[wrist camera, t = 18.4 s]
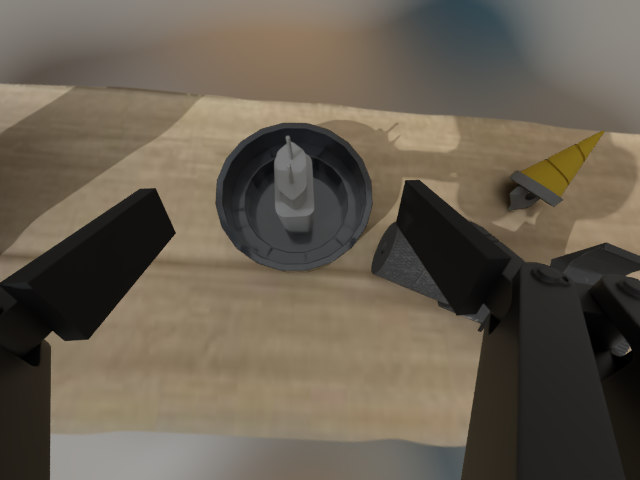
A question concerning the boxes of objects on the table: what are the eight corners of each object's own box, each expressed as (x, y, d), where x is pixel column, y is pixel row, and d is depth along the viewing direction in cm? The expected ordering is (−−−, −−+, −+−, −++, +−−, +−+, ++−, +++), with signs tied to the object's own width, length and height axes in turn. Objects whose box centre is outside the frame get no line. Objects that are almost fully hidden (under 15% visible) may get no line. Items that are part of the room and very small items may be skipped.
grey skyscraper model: (311, 187, 26) (311, 110, 14) (313, 233, 25) (316, 192, 13) (283, 188, 26) (261, 111, 14) (285, 234, 25) (262, 194, 13)
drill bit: (479, 191, 28) (566, 109, 22) (502, 205, 30) (586, 133, 25) (513, 217, 24) (627, 126, 18) (536, 231, 26) (644, 153, 21)
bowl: (216, 250, 25) (190, 242, 19) (260, 139, 27) (248, 104, 22) (339, 288, 25) (348, 291, 19) (372, 173, 27) (388, 147, 22)
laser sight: (388, 213, 26) (436, 174, 16) (571, 288, 26) (733, 293, 16) (359, 292, 25) (393, 301, 15) (555, 374, 24) (724, 440, 14)
